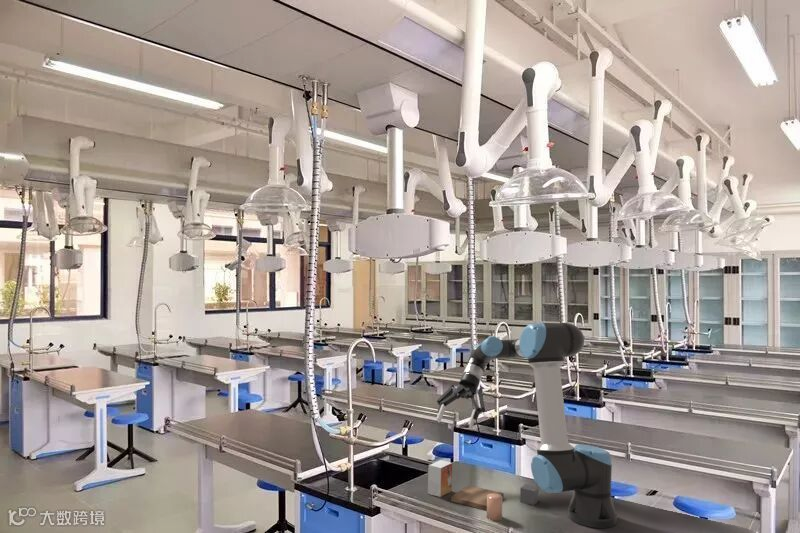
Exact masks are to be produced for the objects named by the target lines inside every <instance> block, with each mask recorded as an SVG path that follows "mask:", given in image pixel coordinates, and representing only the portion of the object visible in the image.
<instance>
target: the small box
mask: <svg viewBox="0 0 800 533" xmlns="http://www.w3.org/2000/svg"><path fill="white" fill-rule="evenodd" d="M427 470H428V471H427V472H428V474H427V475H428V476H427V479H428V480H427V493H428V495H431V496H435V497H439V498H442V497H443V496H445V495H446V494H449V493H451V492H452V491H453V483H452V482H453V462H449V461H446V460H442V459H439V460H437V461H436V462H434V463H431V464H428V469H427Z"/></svg>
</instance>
